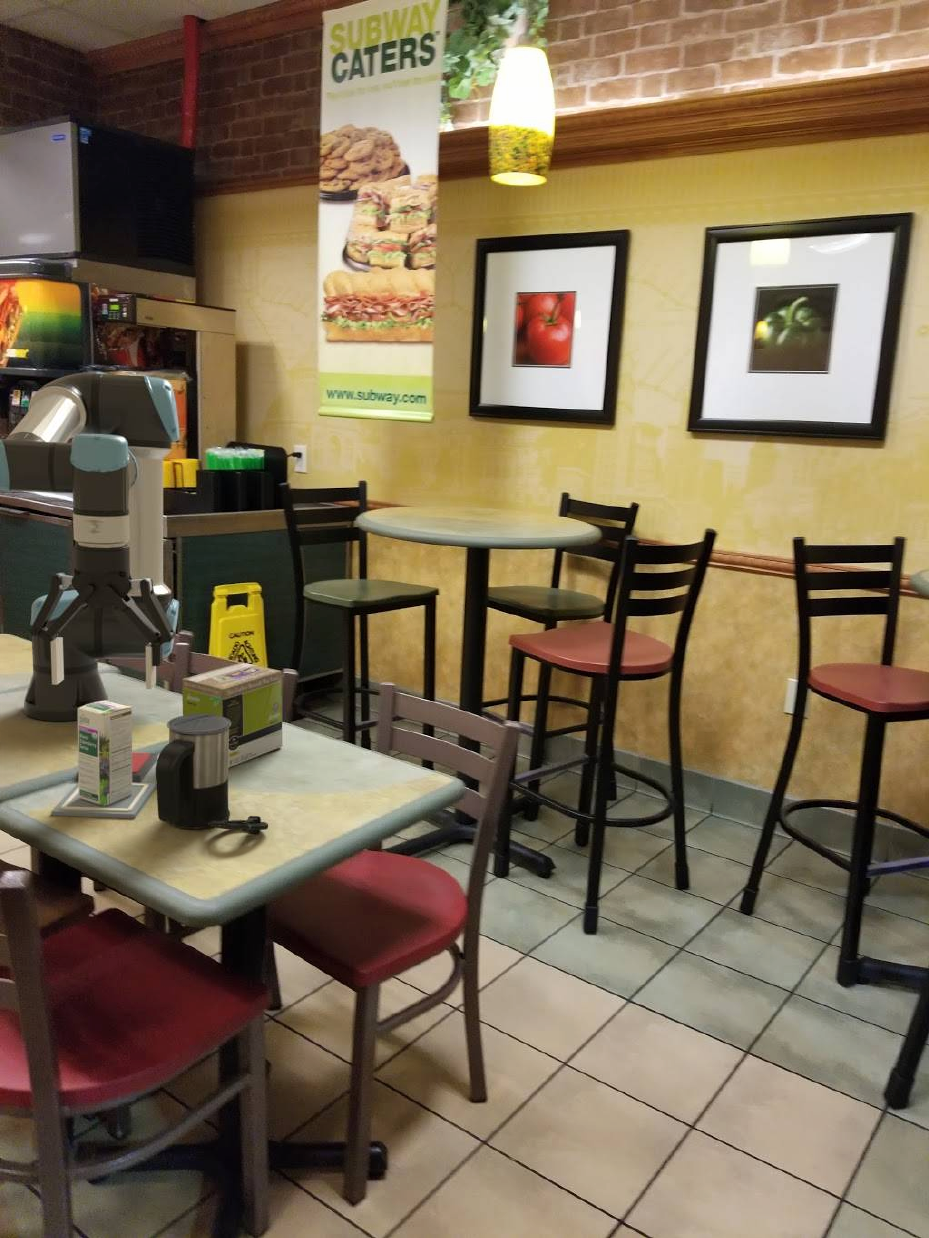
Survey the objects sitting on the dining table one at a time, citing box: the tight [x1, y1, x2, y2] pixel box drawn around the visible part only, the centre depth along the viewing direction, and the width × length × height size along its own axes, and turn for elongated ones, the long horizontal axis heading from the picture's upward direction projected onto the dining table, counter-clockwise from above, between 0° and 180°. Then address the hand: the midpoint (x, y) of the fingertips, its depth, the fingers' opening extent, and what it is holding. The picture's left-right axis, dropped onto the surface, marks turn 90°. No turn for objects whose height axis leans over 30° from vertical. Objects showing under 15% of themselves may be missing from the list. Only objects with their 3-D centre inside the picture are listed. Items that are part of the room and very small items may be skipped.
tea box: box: [181, 661, 283, 769], centre depth 163 cm, size 15×10×15 cm, turn 149°
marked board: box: [50, 781, 157, 819], centre depth 142 cm, size 12×12×1 cm
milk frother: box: [155, 714, 269, 835], centre depth 134 cm, size 14×16×15 cm
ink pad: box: [76, 752, 158, 783], centre depth 154 cm, size 10×10×2 cm
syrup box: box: [77, 700, 133, 807], centre depth 140 cm, size 6×6×14 cm
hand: (104, 684), depth 138 cm, fingers open, 13 cm apart
